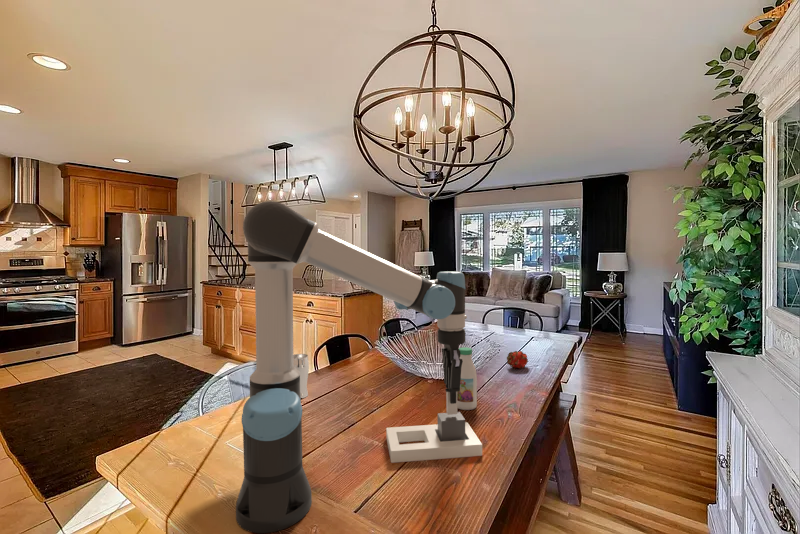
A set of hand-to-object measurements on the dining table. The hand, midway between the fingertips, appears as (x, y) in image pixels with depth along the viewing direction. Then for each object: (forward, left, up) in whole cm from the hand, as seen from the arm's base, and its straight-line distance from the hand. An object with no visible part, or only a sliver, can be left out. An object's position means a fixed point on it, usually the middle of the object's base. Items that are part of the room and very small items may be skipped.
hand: (451, 413), depth 106 cm
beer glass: (+43, +47, -9) cm, 64 cm away
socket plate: (0, +6, -9) cm, 11 cm away
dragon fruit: (+63, -47, -9) cm, 79 cm away
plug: (0, 0, -9) cm, 9 cm away
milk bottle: (+25, -11, -9) cm, 29 cm away
